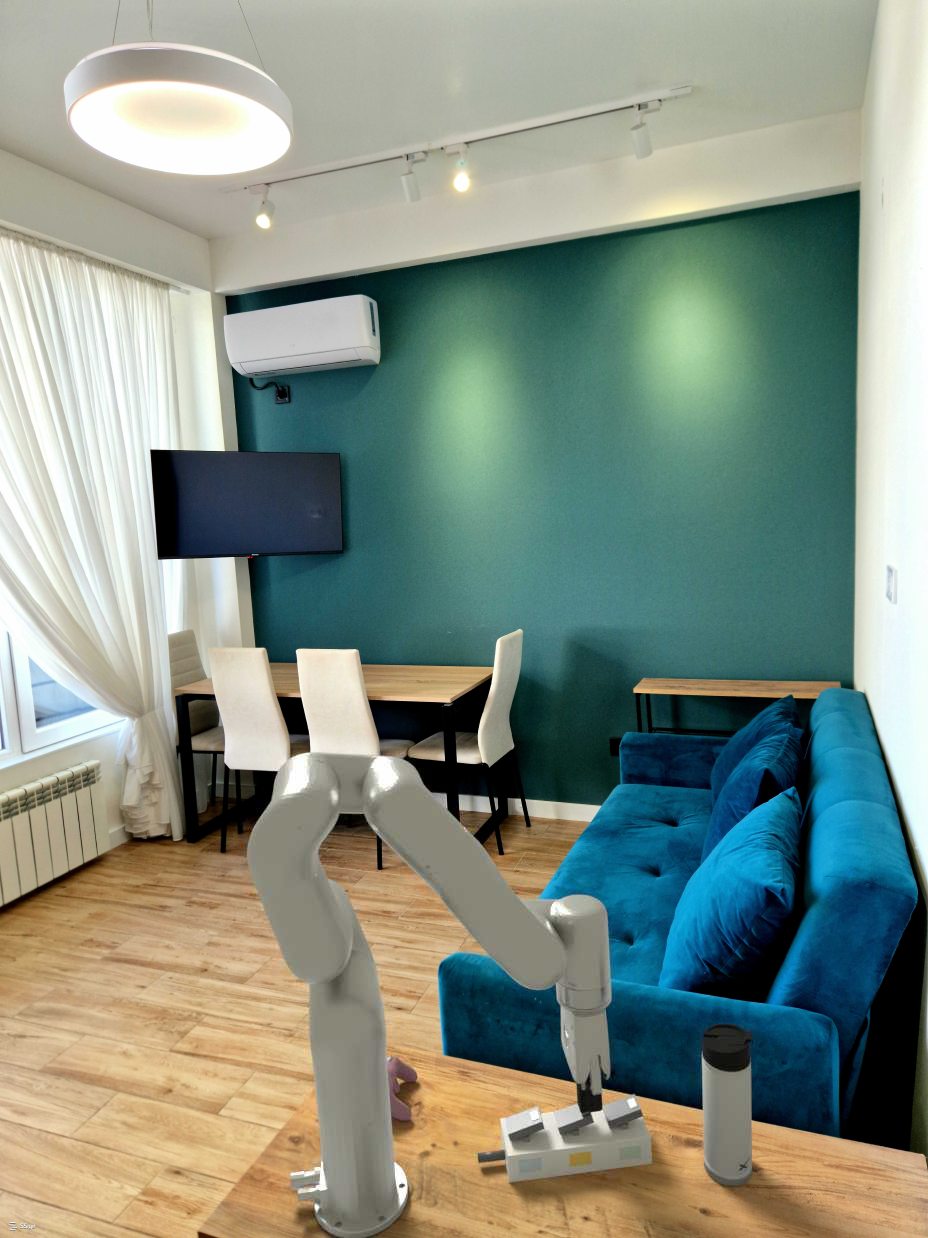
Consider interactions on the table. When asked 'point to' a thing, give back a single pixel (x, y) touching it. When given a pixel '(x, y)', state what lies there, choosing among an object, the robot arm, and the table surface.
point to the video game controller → (401, 1072)
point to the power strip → (572, 1149)
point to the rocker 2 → (622, 1111)
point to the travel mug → (727, 1103)
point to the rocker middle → (572, 1119)
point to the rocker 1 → (524, 1123)
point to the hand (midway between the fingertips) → (590, 1108)
